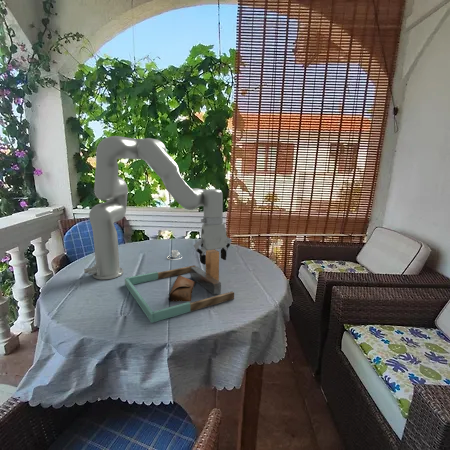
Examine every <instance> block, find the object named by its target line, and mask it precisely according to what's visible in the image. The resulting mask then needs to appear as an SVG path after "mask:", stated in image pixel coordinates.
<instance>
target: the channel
mask: <svg viewBox="0 0 450 450" xmlns="http://www.w3.org/2000/svg"><path fill="white" fill-rule="evenodd" d="M191 267H196V265H189V266H184V267H179V268H173V269H169V270H164V271H159V272H158V271H157V272H158V279H157V280H160V279H164V278H171V277H176V276H178V275H185V274H189V273H190V274H191ZM234 299H235V291H230V292H225V293H221V294H217V295H213V296H210V297H208V298H207V297H206V298H203V299H200V300H196V301H191V302H189V303H190V312H195V311H197V310H201V309H203V308H207V307H212V306H214V305H217V304H221V303H225V302H229V301H231V300H234Z"/></svg>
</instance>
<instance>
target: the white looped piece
mask: <svg viewBox="0 0 450 450" xmlns="http://www.w3.org/2000/svg"><path fill="white" fill-rule="evenodd" d="M171 255H172V256H171V257H172V258H173V259H172V258H170V257H169V256H170V255H168V256H166V259H168V260H171V261H177V260H181V259H183V256H182V257H181V258H180V256H179V255H181V253H180V252H179V250H178V249H172V250H171ZM168 257H169V258H168ZM178 257H179V258H178Z"/></svg>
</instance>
